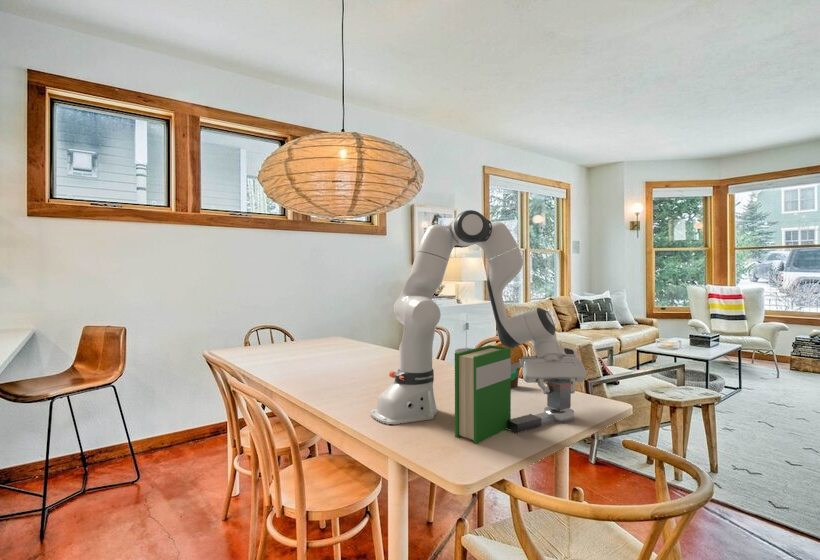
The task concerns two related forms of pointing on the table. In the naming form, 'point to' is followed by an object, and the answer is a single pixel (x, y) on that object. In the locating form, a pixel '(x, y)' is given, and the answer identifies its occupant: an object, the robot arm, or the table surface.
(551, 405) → the dark grey block
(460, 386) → the hardback book
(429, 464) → the table surface
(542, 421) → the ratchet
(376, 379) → the table surface
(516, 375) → the food container
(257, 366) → the table surface
